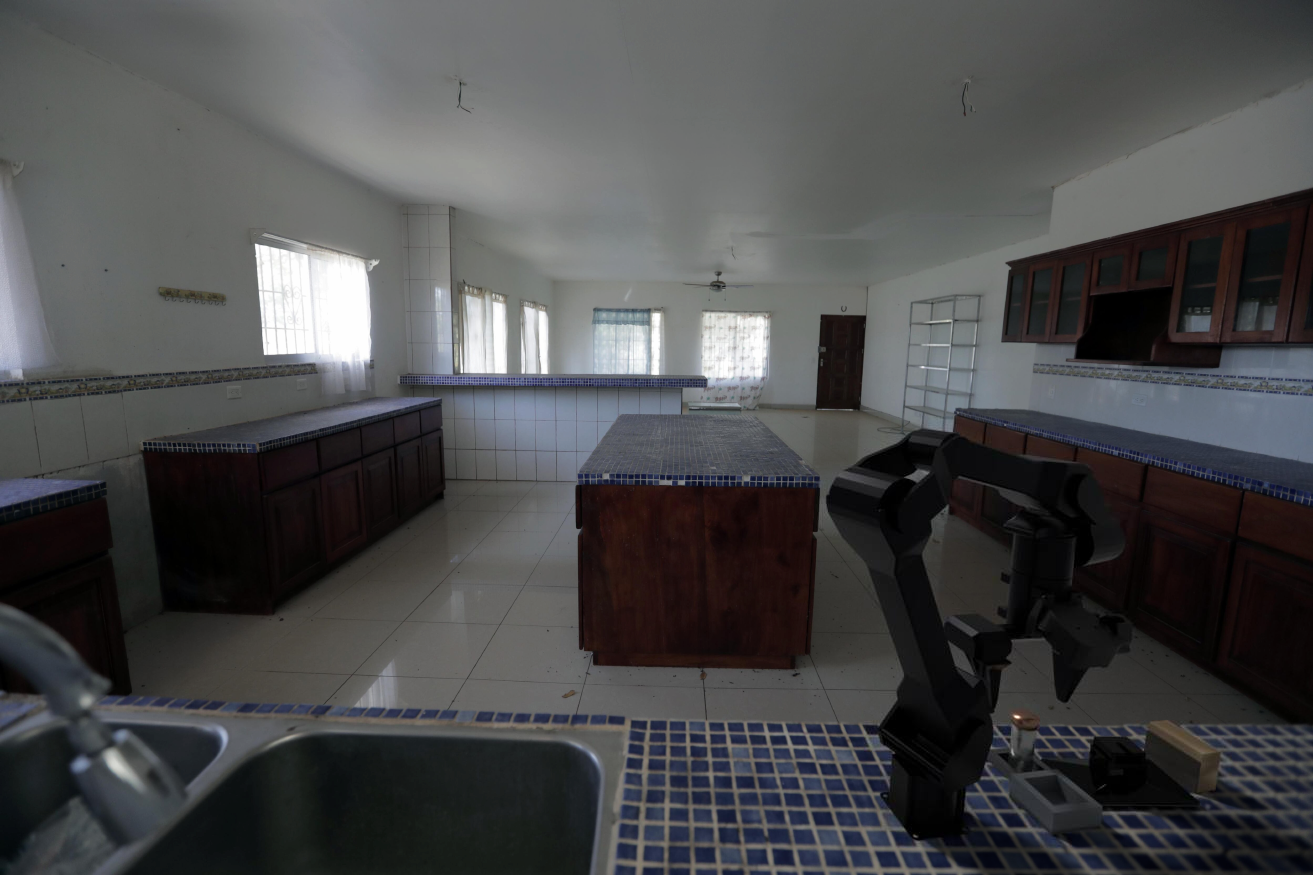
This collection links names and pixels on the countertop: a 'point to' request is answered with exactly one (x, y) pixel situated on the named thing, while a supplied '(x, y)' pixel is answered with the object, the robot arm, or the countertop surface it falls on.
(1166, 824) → the countertop surface
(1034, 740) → the pin
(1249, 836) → the countertop surface
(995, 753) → the pin socket
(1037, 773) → the tray
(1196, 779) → the rail
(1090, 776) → the build plate
